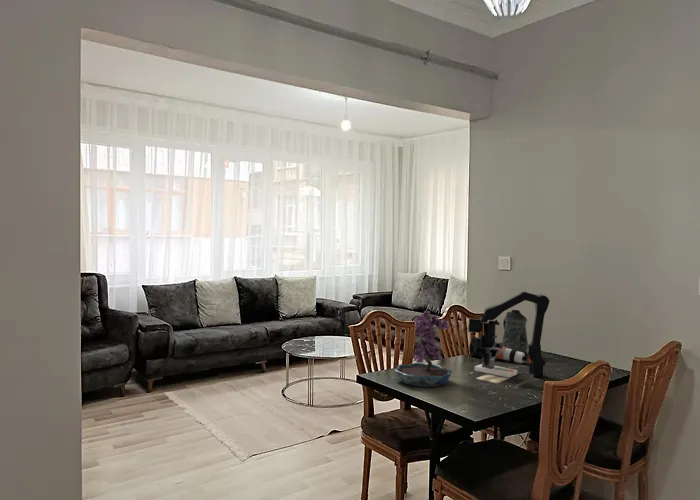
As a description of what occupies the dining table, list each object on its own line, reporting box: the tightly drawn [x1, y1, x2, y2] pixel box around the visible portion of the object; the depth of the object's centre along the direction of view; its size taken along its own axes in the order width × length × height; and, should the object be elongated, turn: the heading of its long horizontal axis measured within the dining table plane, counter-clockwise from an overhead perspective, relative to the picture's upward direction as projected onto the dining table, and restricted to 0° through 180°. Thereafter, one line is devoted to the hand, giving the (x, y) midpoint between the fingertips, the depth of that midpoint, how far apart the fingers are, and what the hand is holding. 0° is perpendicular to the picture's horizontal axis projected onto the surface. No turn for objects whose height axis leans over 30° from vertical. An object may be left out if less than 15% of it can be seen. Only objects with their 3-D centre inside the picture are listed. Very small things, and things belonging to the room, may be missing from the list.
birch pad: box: [475, 373, 509, 386], centre depth 249 cm, size 11×11×1 cm
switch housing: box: [474, 363, 518, 379], centre depth 261 cm, size 18×9×4 cm, turn 49°
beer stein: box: [501, 309, 529, 357], centre depth 310 cm, size 16×19×25 cm
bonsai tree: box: [393, 310, 453, 388], centre depth 246 cm, size 35×27×32 cm
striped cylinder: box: [468, 336, 532, 364], centre depth 292 cm, size 10×34×10 cm, turn 56°
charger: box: [481, 356, 496, 369], centre depth 263 cm, size 4×4×7 cm
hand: (488, 364), depth 263 cm, fingers closed on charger, 4 cm apart
